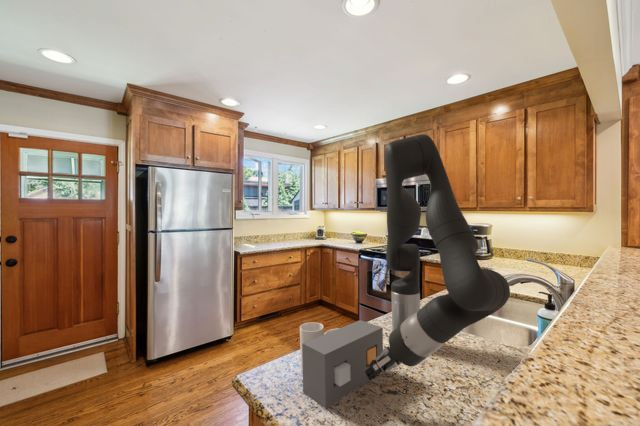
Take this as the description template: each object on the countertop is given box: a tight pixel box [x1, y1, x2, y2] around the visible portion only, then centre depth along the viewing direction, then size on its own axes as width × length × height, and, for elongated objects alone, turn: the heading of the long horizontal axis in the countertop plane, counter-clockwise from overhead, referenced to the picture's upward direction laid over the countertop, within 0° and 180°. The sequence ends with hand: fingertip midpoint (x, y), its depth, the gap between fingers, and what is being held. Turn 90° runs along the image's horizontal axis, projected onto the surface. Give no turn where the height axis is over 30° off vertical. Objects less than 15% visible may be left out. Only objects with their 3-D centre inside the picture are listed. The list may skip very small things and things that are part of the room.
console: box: [302, 319, 384, 409], centre depth 73 cm, size 22×8×12 cm, turn 132°
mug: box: [299, 321, 325, 373], centre depth 81 cm, size 10×7×12 cm, turn 24°
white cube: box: [333, 362, 350, 386], centre depth 67 cm, size 4×4×4 cm
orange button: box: [366, 346, 376, 365], centre depth 76 cm, size 4×4×4 cm
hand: (369, 375), depth 65 cm, fingers closed
